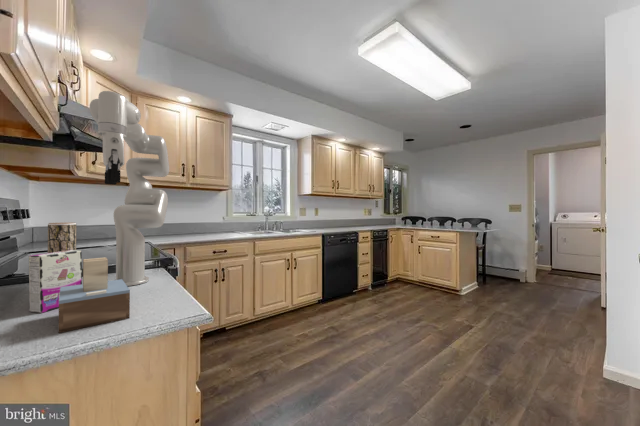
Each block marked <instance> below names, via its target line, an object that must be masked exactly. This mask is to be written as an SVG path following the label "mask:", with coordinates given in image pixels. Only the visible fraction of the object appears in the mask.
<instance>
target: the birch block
mask: <svg viewBox="0 0 640 426" xmlns="http://www.w3.org/2000/svg"><path fill="white" fill-rule="evenodd" d="M82 263H83V264H82V284H83V291H84V292H88V291H95V290H102V289H108V281H109V280H108V279H109V278H108V277H109V276H108V275H109V274H108V271H109V260H108V258H107V257H95V258H84V259H82Z"/></svg>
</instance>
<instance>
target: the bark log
mask: <svg viewBox="0 0 640 426" xmlns="http://www.w3.org/2000/svg"><path fill="white" fill-rule="evenodd" d="M68 250H77V222H48V223H47V253H53V252H60V251H68Z"/></svg>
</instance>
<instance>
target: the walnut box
mask: <svg viewBox="0 0 640 426" xmlns="http://www.w3.org/2000/svg"><path fill="white" fill-rule="evenodd" d="M130 298H131V292H130V293H125V294H119V295H113V296H106V297H100V298H94V299H87V300H81V301H75V302H69V303H63V304H59V308H58V334H62V333H67V332H71V331H75V330H80V329H85V328H90V327H93V326H94V327H95V326H100V325H104V324H110V323H114V322H117V321H118V322H119V321H123V320H128V319H130V317H131V316H130V315H131V314H130V311H131V310H130V309H131V307H130V306H131V305H130V304H131V303H130V301H131V299H130Z"/></svg>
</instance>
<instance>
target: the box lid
mask: <svg viewBox="0 0 640 426" xmlns="http://www.w3.org/2000/svg"><path fill="white" fill-rule="evenodd" d="M125 293H130V294H131V289H130V288H129V286H127V285H126V284H125V282H124V281H123V280H122V279H120V280H115V279H113V280H108V289H102V290H95V291H88V292H84V291H83V283H82V284H81V285H73V286H66V287H61V288H60V296H59V304H63V303H69V302H75V301H81V300H87V299H94V298H100V297H106V296H113V295H119V294H125Z"/></svg>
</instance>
